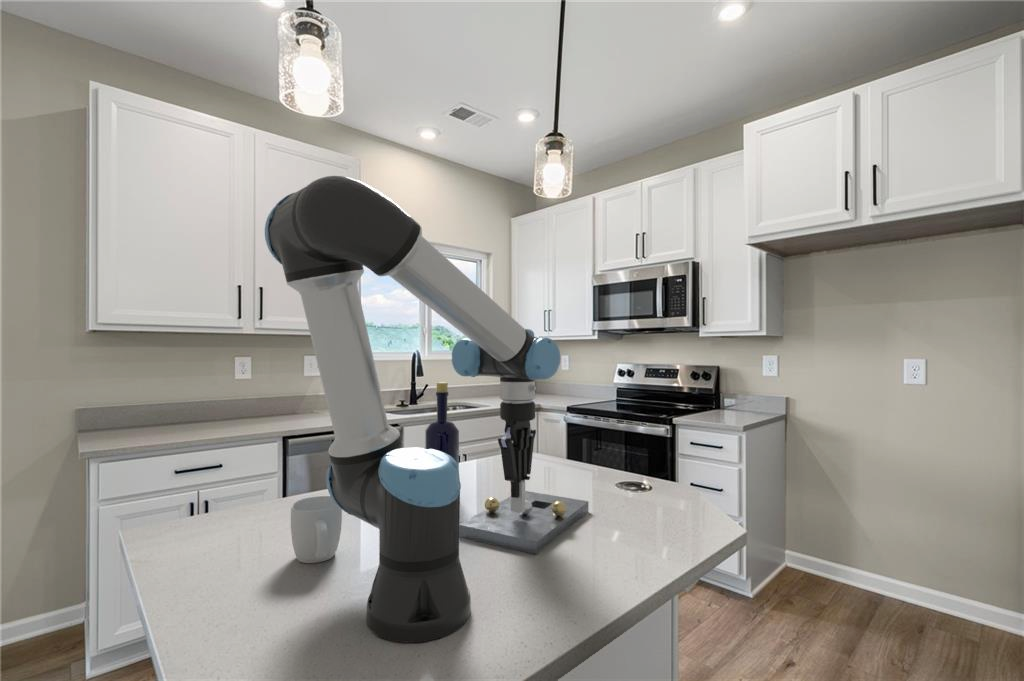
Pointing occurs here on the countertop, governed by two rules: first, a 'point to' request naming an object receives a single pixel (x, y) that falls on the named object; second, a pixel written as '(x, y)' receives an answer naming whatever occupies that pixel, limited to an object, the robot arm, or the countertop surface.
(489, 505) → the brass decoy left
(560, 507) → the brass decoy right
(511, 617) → the countertop surface
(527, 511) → the steel ball
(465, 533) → the plate
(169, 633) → the countertop surface
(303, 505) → the mug
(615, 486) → the countertop surface
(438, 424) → the bottle
